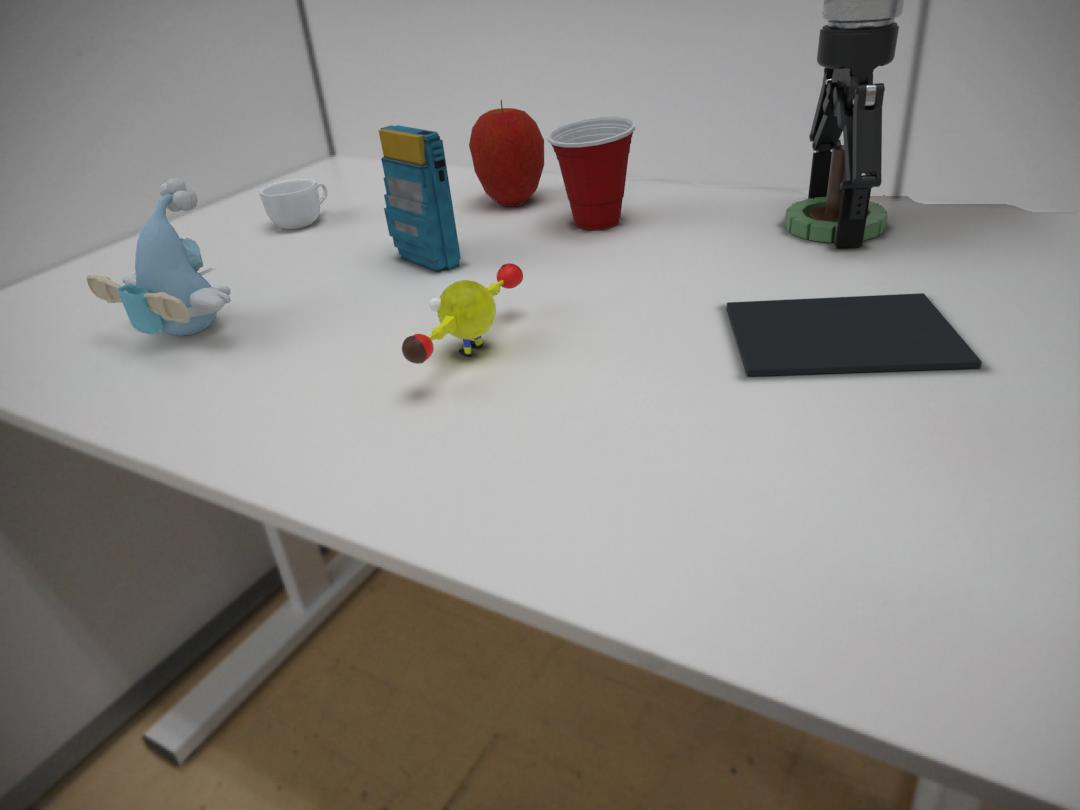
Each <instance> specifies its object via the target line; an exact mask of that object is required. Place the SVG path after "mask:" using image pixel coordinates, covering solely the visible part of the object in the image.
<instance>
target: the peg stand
mask: <svg viewBox="0 0 1080 810" xmlns="http://www.w3.org/2000/svg"><path fill="white" fill-rule="evenodd" d="M831 152H832V156H831V165H830V173H829V182H828V190H827V198H826V207H821V208H817V209H814V210H813V211H811V213H810V218H812V219H815V220H819V221H827V222H838V218H839V210H840V203H841V196H842V190H840V187H839V186H840V185H841V183H842V182H843V181H847V180H846V166H845V151H844V144H841V145H838V146H834V147H833V148H832V150H831Z"/></svg>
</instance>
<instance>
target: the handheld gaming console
mask: <svg viewBox="0 0 1080 810" xmlns="http://www.w3.org/2000/svg"><path fill="white" fill-rule="evenodd" d="M378 135H379V141H380V145H381V150H382V155H383V156H382V157H381V159H380V161H381V166H382V170H383V174H384V177H383V183H384V188H385V194H383V196H384V197H383V198H384V202H385V207H384V208H383V211H384V215H385V221H386V226H387V230H388V235H389V237H391V238H392V242H393V246H394V248H397V253H398V255H399V256H400V258H401V259H402V260H405V261H407V262H410V263H413V264H415V265H419V266H421V267H423V268H426V269H429V270H431V271H435V272H437V273H438V272H441V271H443V270H448V271H451V270H453V269H456V268H459V267H460V260H462V258H461V257H462V256H461V251H460V244H459V237H458V232H457V225H456V218H455V212H454V211H455V210H454V205H453V199H452V191H451V186H450V180H449V173H448V168H447V161H446V155H445V148H444V141H443V139H441V136H440V134H439V133H438V131H433V130H427V129H422V128H416V127H411V126H404V125H399V124H398V125H397V124H396V125H394V124H393V125H392V124H391V125H388V126H383V127H380V129H379V130H378Z"/></svg>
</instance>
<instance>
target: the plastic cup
mask: <svg viewBox="0 0 1080 810" xmlns="http://www.w3.org/2000/svg"><path fill="white" fill-rule="evenodd" d="M636 125H637V123H636V120H635V119H633V118H631V117H626V116H619V115H614V116H613V115H611V116H606V115H605V116H596V117H589V118H582V119H579V120H575V121H571V122H567V123H565V124H562V125H559V126H557V127H555V128H554V129H551V131H549V132H548V134H547V135H546V140H547V142H548V143H549V144H550V145H551V147H552V149H553V152H554V153H555V156H556V157H555V158H556V159H557V161H558V164H559V168H560V173H561V177H562V181H563V184H564V185H563V186H564V189H565V192H566V197H567V200H568V202H569V207H570V211H571V215H572V220H573V221H574V225H575V227H577V228H578V229H581V230H586V231H602V230H607V229H611V228H614V227H616V226H617V225H618V224H620V219H621V215H622V208H623V200H624V198H625V197H624V196H625V191H626V189H625V188H626V181H627V173H628V172H627V171H628V165H629V164H628V163H629V155H630V153H631V152H630V151H631V144H632V139H633V135H634V132H635V131H636Z"/></svg>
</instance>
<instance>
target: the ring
mask: <svg viewBox="0 0 1080 810" xmlns="http://www.w3.org/2000/svg"><path fill="white" fill-rule="evenodd" d="M826 198H827V197H816V198H814V199H812V198H810V199H808V198H806V199H803V200H799V201H796V202H795V203H794V202H793V203H792V204H791V205H790V206H788V208H786V210H785V217H784V218H785V219H784V227H785V228H786V230H787V232H788V233H790V234H791V235H793V236H796V237H798V238H801V239H803V240H809V241H813V242H821V243H829V244H831V243H832V242H833V243H835V240H836V232H837V225H838V222H827V221H819V220H815V219H812V218H810V213H811V211H813V210H814V209H817V208H821V207H826ZM888 213H889V212H888V211H887V209H886V208H885V207H884V206H883V205H881V204H879V203H878V202H875V201H871V200H869V206H868V213H867V219H866V225H865V232H864V238H863V242H864V241H867V240H871V239H874V238H877V237H878V236H880V235H881V234H882V233H883V232H884V231H885V229H886V227H887V221H888V215H889V214H888Z"/></svg>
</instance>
